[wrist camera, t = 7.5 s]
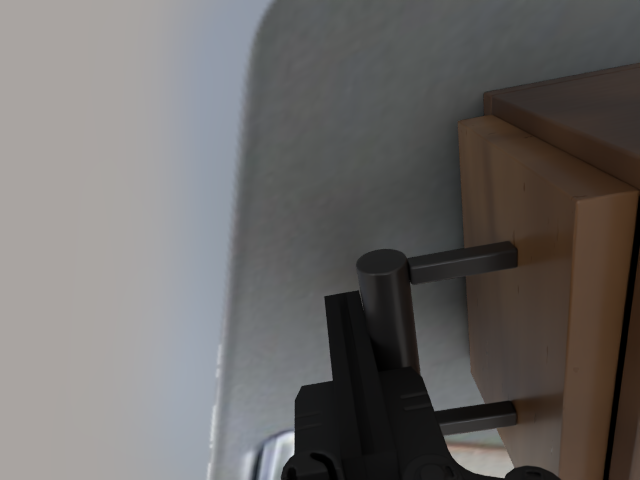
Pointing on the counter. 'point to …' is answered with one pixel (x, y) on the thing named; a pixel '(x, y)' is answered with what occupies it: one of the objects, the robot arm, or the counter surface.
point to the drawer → (526, 298)
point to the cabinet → (608, 156)
